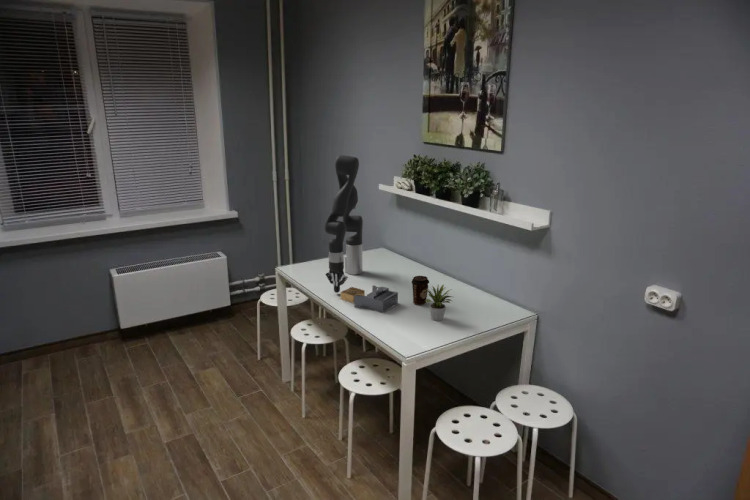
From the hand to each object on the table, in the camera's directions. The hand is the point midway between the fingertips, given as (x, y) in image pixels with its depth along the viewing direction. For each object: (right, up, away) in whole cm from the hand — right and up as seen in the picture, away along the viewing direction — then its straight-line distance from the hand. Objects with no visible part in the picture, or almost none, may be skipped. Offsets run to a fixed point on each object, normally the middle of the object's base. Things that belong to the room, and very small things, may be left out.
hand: (337, 292), depth 253 cm
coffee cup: (+41, -5, -11) cm, 43 cm away
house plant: (+47, -10, -29) cm, 56 cm away
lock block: (+8, -3, -5) cm, 10 cm away
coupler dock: (+20, -5, -13) cm, 24 cm away
